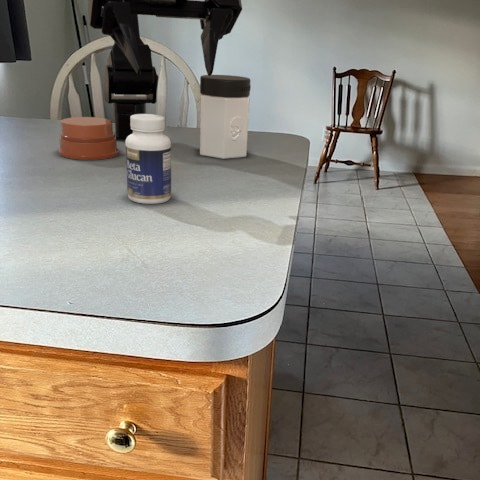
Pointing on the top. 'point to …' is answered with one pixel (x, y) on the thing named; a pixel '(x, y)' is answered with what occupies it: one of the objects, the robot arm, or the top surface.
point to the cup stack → (87, 139)
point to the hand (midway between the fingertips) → (175, 73)
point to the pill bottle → (148, 160)
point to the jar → (224, 116)
